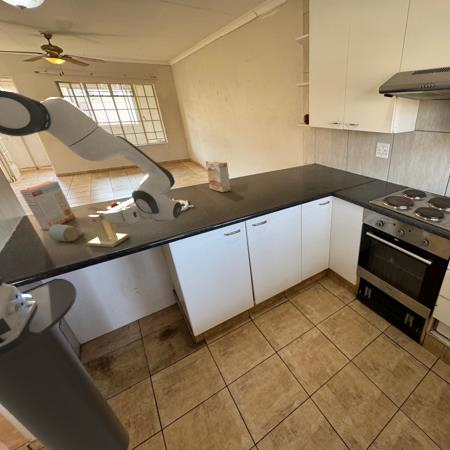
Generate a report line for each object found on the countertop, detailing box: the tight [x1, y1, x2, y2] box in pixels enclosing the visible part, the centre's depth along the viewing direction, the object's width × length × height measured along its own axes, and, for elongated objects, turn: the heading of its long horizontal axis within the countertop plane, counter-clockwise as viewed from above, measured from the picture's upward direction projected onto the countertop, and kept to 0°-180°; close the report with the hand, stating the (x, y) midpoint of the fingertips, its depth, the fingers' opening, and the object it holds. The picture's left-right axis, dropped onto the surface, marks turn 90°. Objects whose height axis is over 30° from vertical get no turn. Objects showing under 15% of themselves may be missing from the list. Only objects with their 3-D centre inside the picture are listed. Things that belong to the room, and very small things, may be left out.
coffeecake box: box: [205, 159, 231, 193], centre depth 170 cm, size 15×7×20 cm, turn 53°
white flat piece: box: [171, 198, 195, 212], centre depth 145 cm, size 21×28×1 cm
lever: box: [96, 202, 119, 220], centre depth 105 cm, size 14×4×4 cm, turn 81°
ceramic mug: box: [47, 224, 84, 243], centre depth 113 cm, size 11×8×8 cm
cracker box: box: [19, 180, 76, 230], centre depth 124 cm, size 14×6×21 cm, turn 178°
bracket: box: [87, 210, 129, 248], centre depth 110 cm, size 12×9×14 cm
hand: (112, 206), depth 104 cm, fingers closed on lever, 3 cm apart
